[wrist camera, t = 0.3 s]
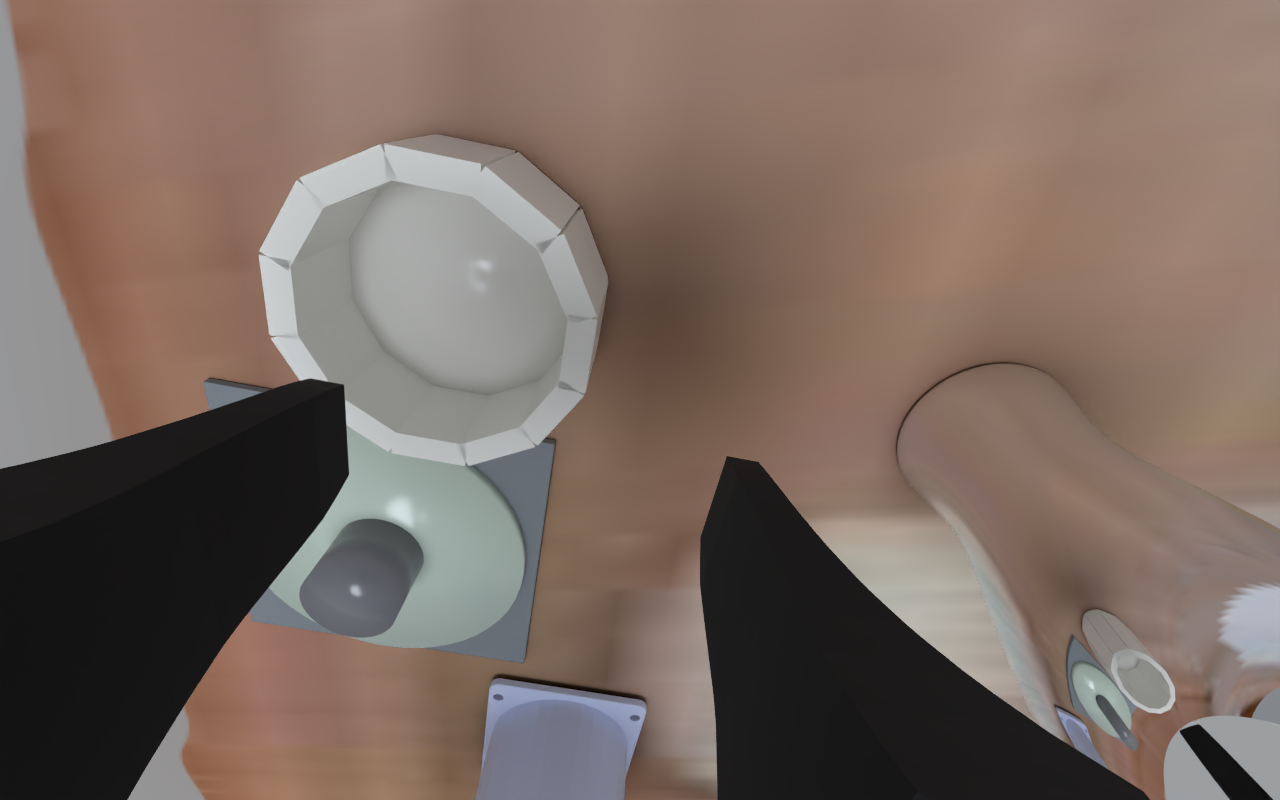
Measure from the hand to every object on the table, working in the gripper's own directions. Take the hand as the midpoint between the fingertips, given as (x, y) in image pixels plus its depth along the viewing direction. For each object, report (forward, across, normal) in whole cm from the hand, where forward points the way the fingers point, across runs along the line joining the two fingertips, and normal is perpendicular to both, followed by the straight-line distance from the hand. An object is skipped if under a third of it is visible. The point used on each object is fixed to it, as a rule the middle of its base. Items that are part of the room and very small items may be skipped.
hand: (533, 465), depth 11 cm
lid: (+9, +7, +12) cm, 17 cm away
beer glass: (+10, -15, +2) cm, 18 cm away
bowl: (+10, +4, 0) cm, 10 cm away
